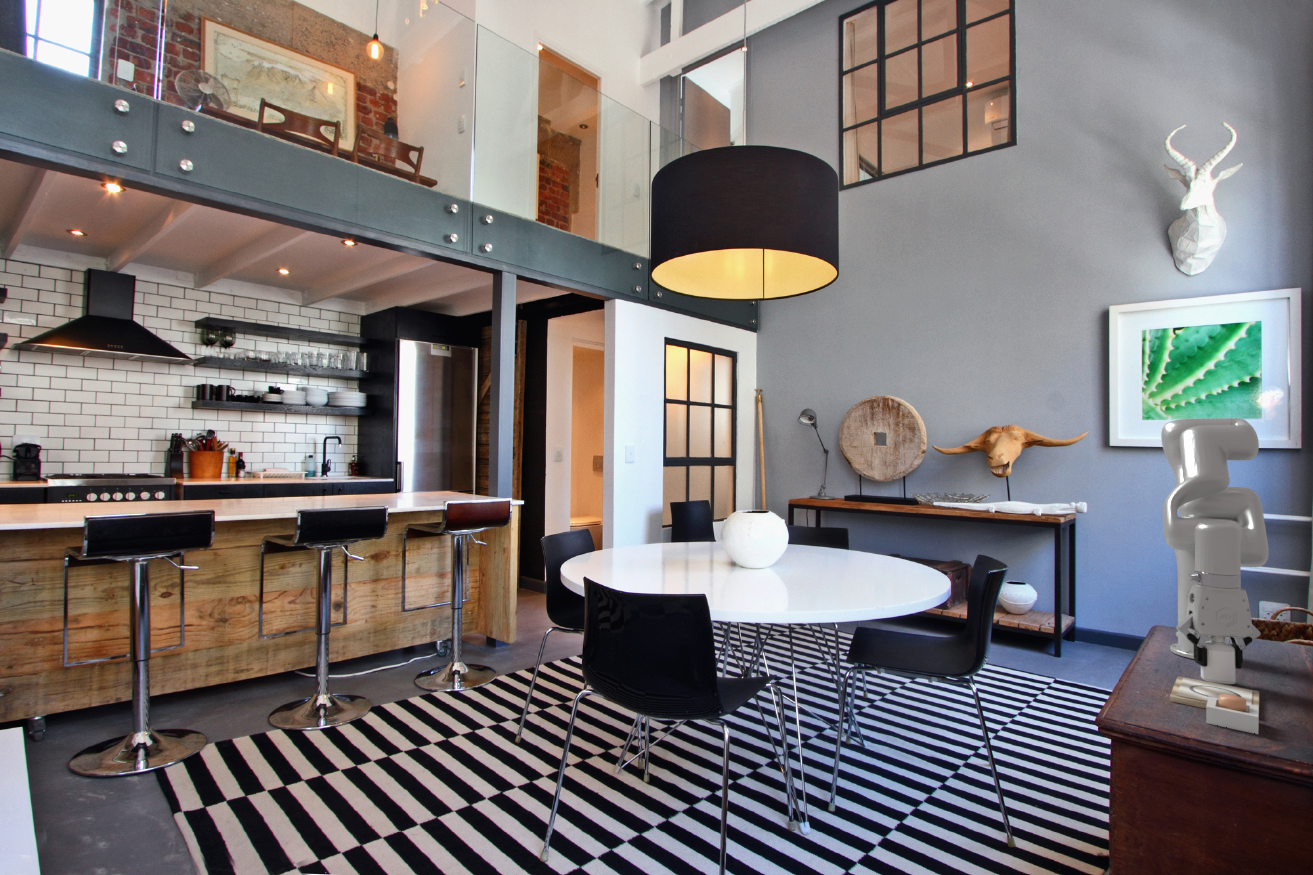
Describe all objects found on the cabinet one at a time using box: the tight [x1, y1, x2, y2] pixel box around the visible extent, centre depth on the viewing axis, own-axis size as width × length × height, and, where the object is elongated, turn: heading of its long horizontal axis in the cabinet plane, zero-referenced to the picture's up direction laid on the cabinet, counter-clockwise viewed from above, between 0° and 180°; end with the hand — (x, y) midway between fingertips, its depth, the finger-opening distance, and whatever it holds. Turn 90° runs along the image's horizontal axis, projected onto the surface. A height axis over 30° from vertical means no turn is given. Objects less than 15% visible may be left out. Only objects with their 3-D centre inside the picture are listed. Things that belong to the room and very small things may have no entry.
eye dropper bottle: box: [1200, 636, 1237, 685], centre depth 144 cm, size 4×6×12 cm
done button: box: [1219, 694, 1246, 712], centre depth 122 cm, size 4×4×2 cm
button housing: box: [1205, 696, 1260, 735], centre depth 122 cm, size 7×7×3 cm
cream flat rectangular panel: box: [1169, 676, 1260, 709], centre depth 134 cm, size 16×13×1 cm
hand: (1217, 664), depth 144 cm, fingers closed on eye dropper bottle, 5 cm apart
